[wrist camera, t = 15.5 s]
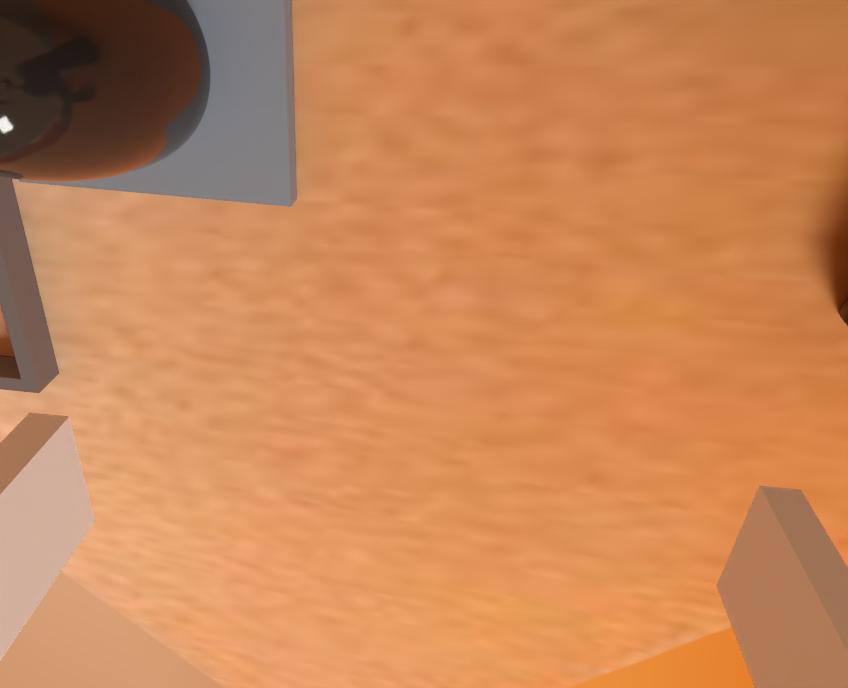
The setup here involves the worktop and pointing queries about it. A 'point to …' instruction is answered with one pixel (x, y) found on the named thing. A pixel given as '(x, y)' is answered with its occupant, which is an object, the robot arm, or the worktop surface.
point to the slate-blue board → (233, 114)
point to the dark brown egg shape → (97, 86)
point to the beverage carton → (844, 312)
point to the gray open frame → (21, 305)
